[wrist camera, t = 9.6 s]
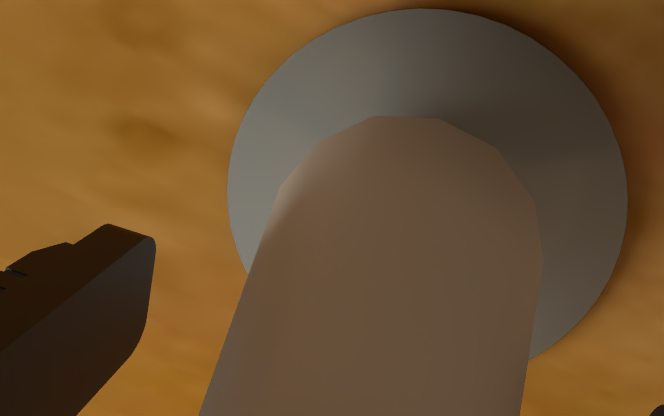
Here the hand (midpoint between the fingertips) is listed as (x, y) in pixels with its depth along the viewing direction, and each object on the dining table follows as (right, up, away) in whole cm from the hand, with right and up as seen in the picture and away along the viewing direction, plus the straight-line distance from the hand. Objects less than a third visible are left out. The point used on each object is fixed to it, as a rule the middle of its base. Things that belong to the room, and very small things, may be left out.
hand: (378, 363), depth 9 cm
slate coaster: (+2, +2, +7) cm, 7 cm away
